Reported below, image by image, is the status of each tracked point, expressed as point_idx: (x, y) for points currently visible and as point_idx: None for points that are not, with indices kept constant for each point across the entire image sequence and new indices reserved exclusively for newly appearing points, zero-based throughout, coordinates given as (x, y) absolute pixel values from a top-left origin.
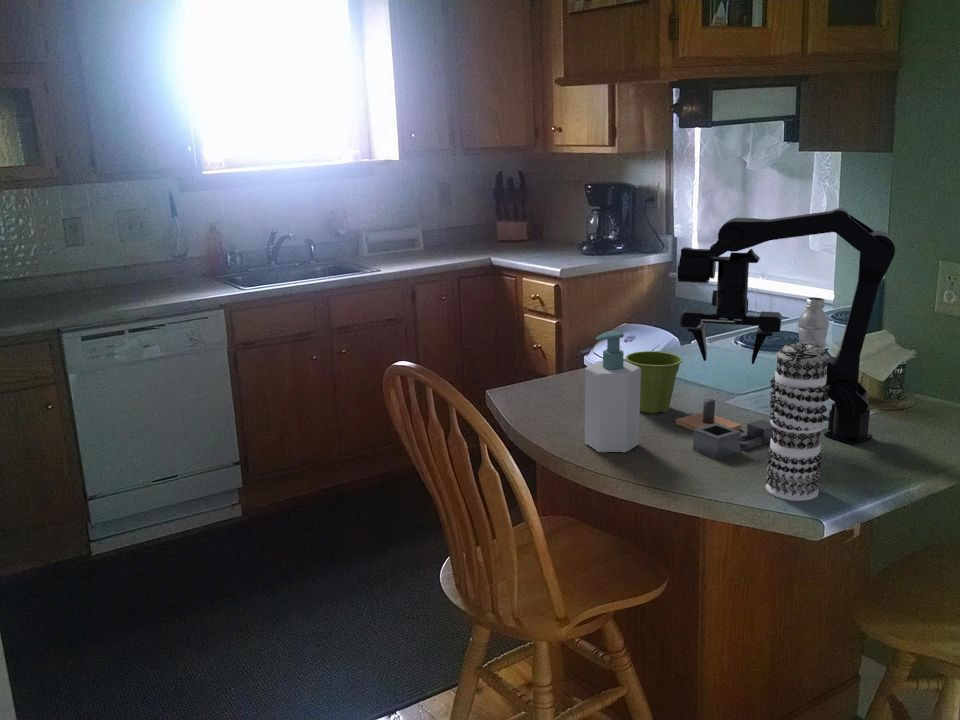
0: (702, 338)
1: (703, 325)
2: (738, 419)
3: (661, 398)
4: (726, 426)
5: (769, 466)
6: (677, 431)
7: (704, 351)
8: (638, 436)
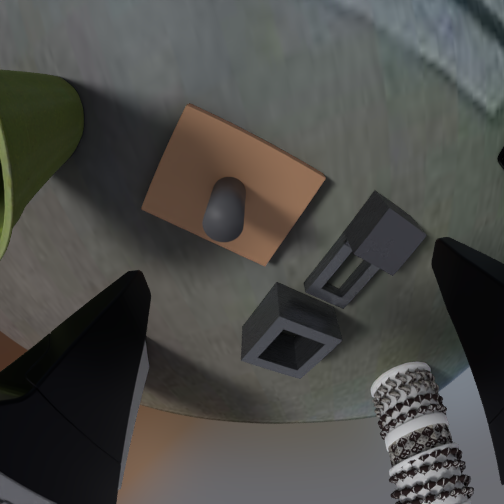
0: (118, 465)
1: (14, 481)
2: (299, 86)
3: (57, 167)
4: (287, 208)
5: (380, 408)
6: (171, 249)
7: (136, 364)
8: (142, 353)
